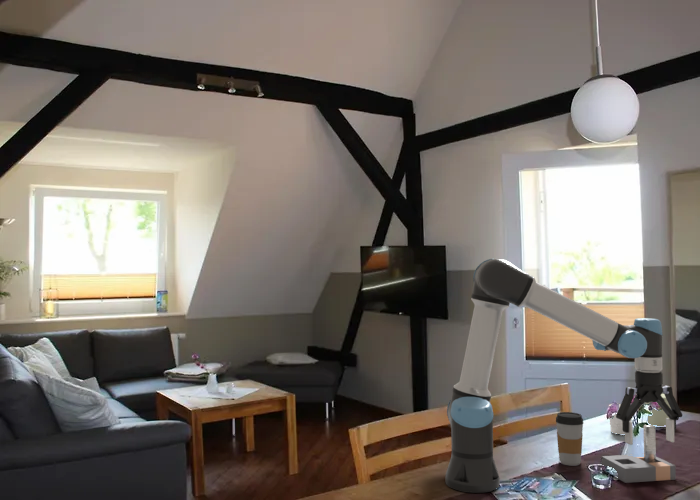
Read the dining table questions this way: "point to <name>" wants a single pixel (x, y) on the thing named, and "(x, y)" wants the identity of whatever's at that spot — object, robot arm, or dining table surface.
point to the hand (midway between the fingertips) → (649, 442)
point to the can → (658, 415)
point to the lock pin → (649, 444)
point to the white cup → (616, 424)
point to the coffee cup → (569, 437)
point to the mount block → (640, 468)
